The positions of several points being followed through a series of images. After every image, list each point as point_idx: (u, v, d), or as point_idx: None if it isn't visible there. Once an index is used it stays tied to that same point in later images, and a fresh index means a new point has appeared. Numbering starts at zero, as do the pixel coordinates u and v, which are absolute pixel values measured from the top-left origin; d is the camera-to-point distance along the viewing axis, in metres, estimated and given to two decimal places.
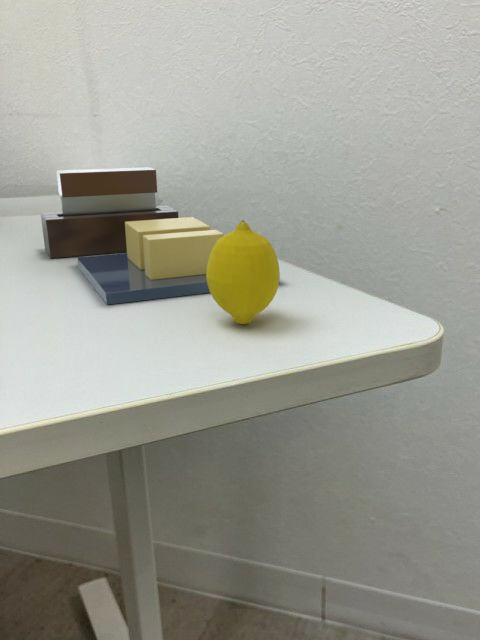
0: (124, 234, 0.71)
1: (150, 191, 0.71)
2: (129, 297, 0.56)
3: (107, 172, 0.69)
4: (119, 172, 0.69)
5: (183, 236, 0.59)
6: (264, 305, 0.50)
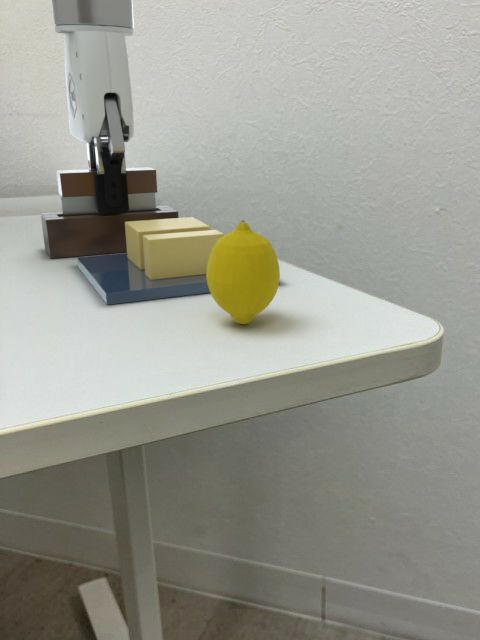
0: (124, 234, 0.71)
1: (150, 191, 0.71)
2: (129, 297, 0.56)
3: None
4: None
5: (183, 236, 0.59)
6: (264, 305, 0.50)
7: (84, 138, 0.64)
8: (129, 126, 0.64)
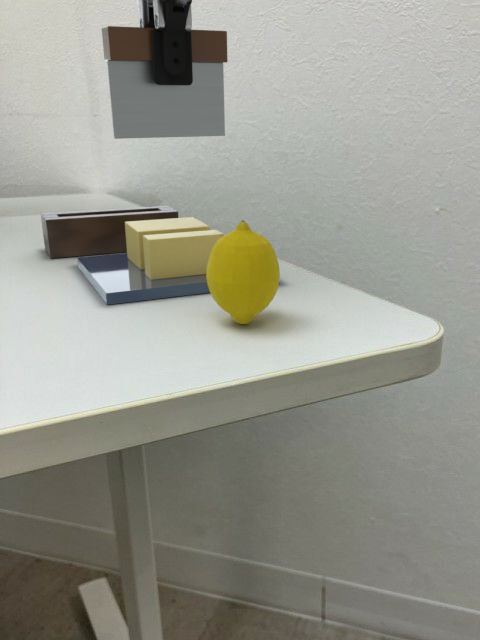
0: (124, 234, 0.71)
1: (219, 60, 0.56)
2: (129, 297, 0.56)
3: None
4: None
5: (183, 236, 0.59)
6: (264, 305, 0.50)
7: None
8: None
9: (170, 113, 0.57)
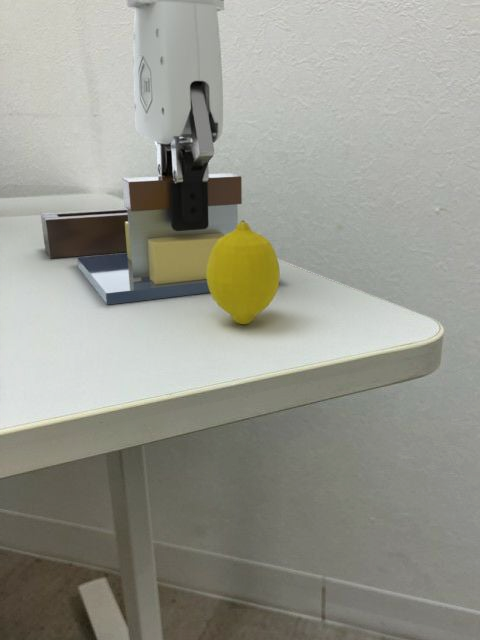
0: (124, 234, 0.71)
1: (233, 202, 0.59)
2: (129, 297, 0.56)
3: None
4: None
5: (188, 240, 0.57)
6: (264, 305, 0.50)
7: (163, 138, 0.51)
8: (218, 123, 0.52)
9: None
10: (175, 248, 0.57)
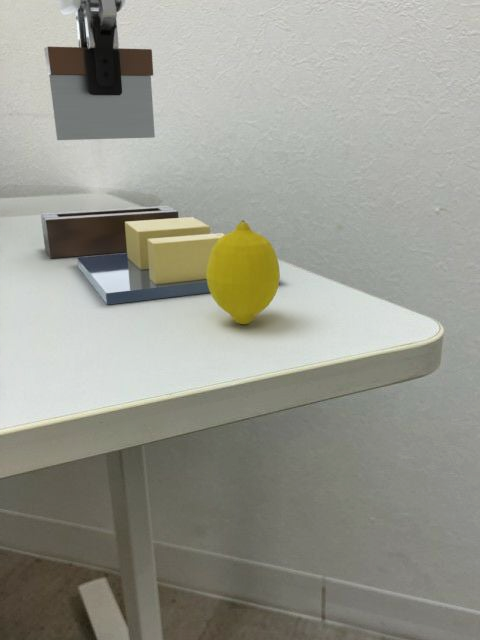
0: (124, 234, 0.71)
1: (146, 73, 0.66)
2: (129, 297, 0.56)
3: None
4: None
5: (188, 240, 0.57)
6: (264, 305, 0.50)
7: (72, 2, 0.59)
8: None
9: (106, 119, 0.67)
10: (175, 248, 0.57)
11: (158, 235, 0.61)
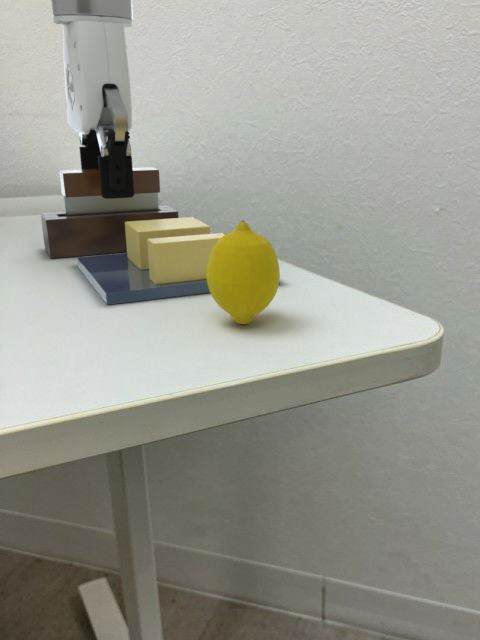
0: (124, 234, 0.71)
1: (153, 191, 0.71)
2: (129, 297, 0.56)
3: None
4: None
5: (188, 240, 0.57)
6: (264, 305, 0.50)
7: (82, 129, 0.64)
8: (127, 118, 0.64)
9: None
10: (175, 248, 0.57)
11: (158, 235, 0.61)
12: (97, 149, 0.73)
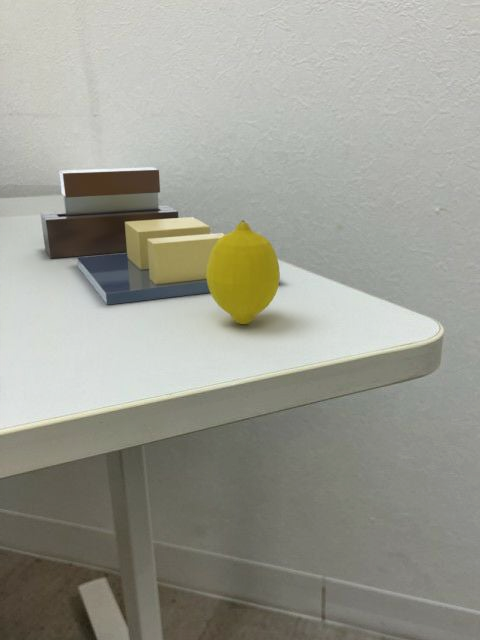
0: (124, 234, 0.71)
1: (153, 191, 0.71)
2: (129, 297, 0.56)
3: (110, 172, 0.69)
4: (122, 172, 0.69)
5: (188, 240, 0.57)
6: (264, 305, 0.50)
7: None
8: None
9: None
10: (175, 248, 0.57)
11: (158, 235, 0.61)
12: None
